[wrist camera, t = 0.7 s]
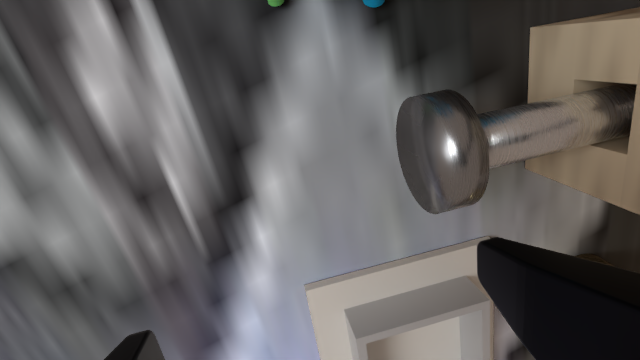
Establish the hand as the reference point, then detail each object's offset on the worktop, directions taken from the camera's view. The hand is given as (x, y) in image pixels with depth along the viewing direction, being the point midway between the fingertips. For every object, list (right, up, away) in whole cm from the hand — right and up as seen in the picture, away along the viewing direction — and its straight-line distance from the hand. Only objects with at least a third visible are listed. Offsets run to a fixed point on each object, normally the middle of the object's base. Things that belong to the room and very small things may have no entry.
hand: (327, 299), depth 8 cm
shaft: (+9, +6, +11) cm, 16 cm away
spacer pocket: (+6, -8, +17) cm, 20 cm away
